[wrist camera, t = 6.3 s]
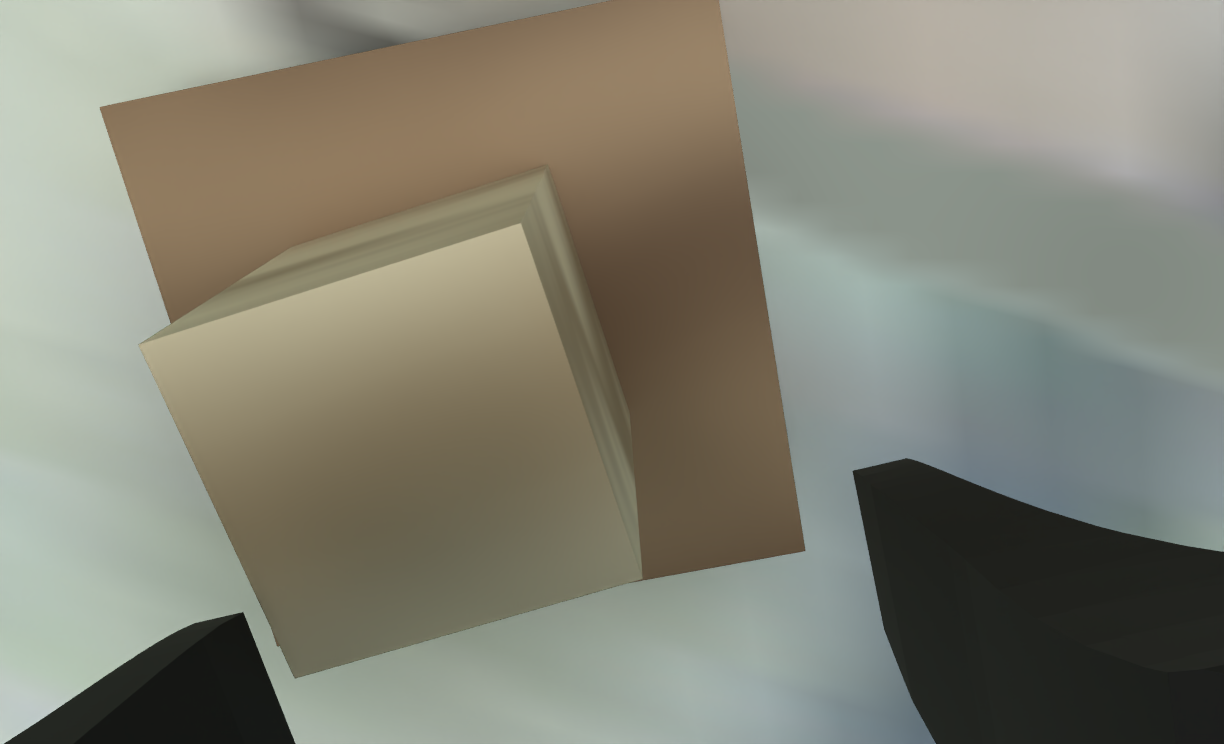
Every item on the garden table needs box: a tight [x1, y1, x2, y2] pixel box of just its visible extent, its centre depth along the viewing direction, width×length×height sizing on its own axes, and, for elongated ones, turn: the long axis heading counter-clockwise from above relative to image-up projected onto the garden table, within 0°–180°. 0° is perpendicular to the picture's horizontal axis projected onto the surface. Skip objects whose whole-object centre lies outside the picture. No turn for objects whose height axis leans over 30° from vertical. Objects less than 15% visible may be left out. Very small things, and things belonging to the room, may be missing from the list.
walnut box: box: [100, 0, 805, 646], centre depth 20 cm, size 10×10×4 cm
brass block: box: [139, 164, 643, 678], centre depth 15 cm, size 4×4×6 cm
